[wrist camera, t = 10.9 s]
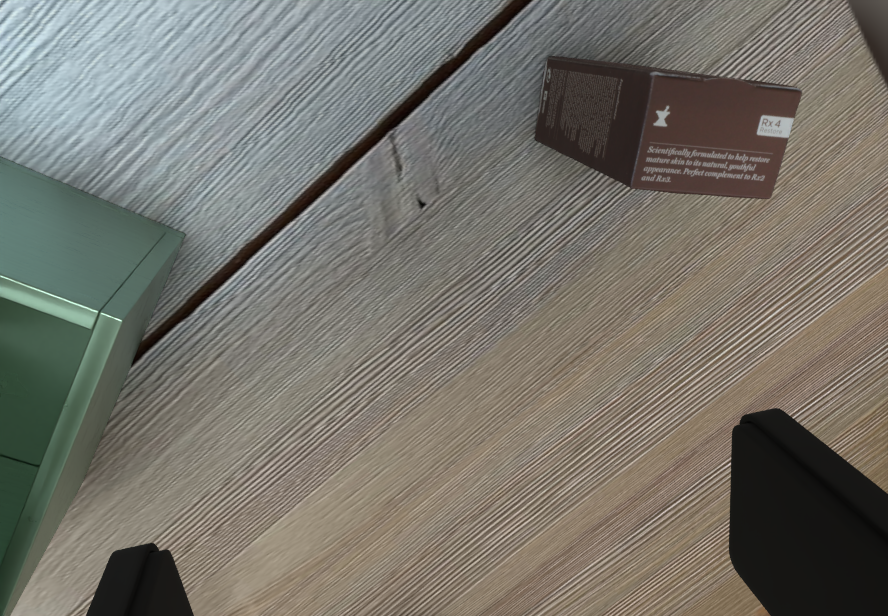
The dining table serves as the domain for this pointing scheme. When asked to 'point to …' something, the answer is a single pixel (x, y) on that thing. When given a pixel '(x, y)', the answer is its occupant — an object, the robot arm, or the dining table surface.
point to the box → (667, 126)
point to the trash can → (63, 346)
